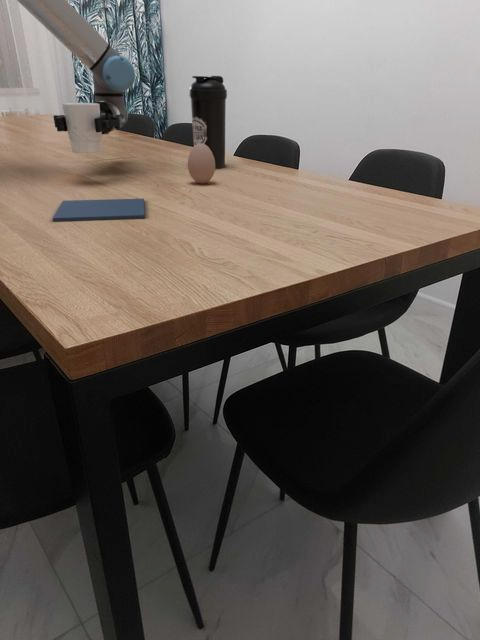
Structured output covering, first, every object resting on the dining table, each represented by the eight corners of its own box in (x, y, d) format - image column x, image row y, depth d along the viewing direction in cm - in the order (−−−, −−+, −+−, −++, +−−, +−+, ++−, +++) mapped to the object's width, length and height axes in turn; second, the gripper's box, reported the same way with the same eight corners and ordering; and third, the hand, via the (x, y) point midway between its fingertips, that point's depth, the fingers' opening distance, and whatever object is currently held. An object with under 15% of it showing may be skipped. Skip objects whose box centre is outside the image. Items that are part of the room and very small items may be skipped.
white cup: (106, 149, 120) (101, 103, 116) (103, 153, 114) (97, 104, 109) (72, 149, 119) (65, 102, 114) (66, 153, 112) (59, 104, 108)
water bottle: (185, 165, 145) (180, 75, 134) (213, 162, 151) (211, 75, 140) (206, 170, 138) (203, 75, 127) (235, 167, 144) (234, 76, 133)
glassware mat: (53, 221, 89) (52, 218, 89) (63, 203, 101) (62, 200, 101) (145, 218, 92) (144, 214, 92) (144, 201, 104) (144, 198, 104)
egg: (199, 179, 126) (197, 140, 122) (221, 182, 123) (220, 143, 119) (183, 184, 121) (180, 143, 117) (205, 187, 118) (203, 145, 114)
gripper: (144, 134, 132) (126, 144, 112) (64, 132, 131) (33, 142, 111) (141, 102, 128) (123, 107, 108) (59, 100, 127) (26, 104, 107)
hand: (77, 125), depth 109 cm, fingers closed on white cup, 8 cm apart
